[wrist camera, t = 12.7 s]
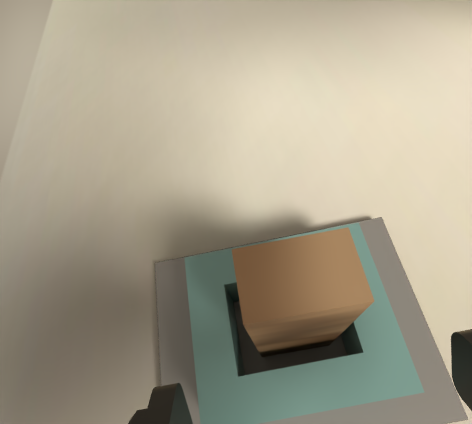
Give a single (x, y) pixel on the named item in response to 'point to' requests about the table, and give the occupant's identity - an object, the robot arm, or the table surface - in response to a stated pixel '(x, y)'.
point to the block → (300, 290)
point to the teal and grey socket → (305, 361)
